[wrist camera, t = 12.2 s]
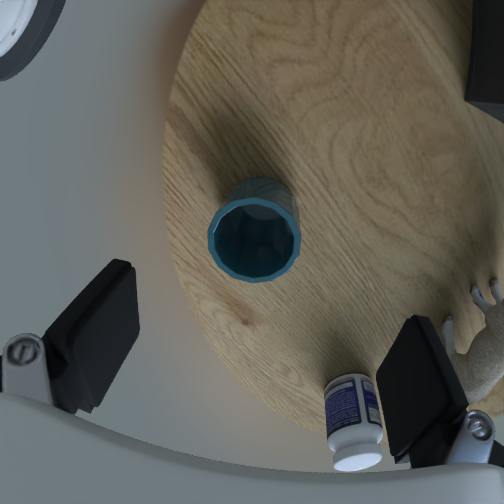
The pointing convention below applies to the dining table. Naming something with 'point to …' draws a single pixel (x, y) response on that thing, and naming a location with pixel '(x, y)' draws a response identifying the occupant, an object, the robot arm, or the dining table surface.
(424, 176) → the dining table surface
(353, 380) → the pill bottle
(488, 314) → the figurine
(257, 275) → the creamer cup
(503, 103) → the dark gray hinged chest
